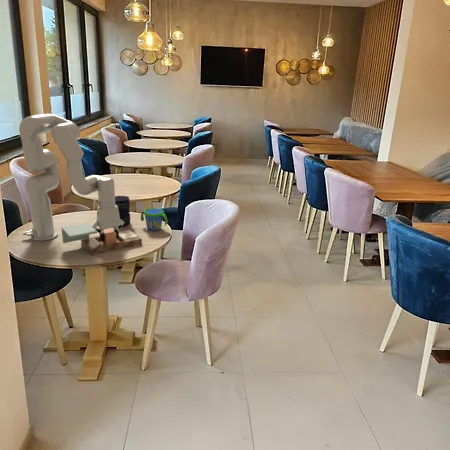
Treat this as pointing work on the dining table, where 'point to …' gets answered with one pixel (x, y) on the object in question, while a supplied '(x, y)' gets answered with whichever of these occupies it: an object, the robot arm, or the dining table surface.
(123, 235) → the board
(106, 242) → the block
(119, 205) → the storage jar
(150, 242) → the dining table surface
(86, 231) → the cover
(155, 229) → the snack cup
